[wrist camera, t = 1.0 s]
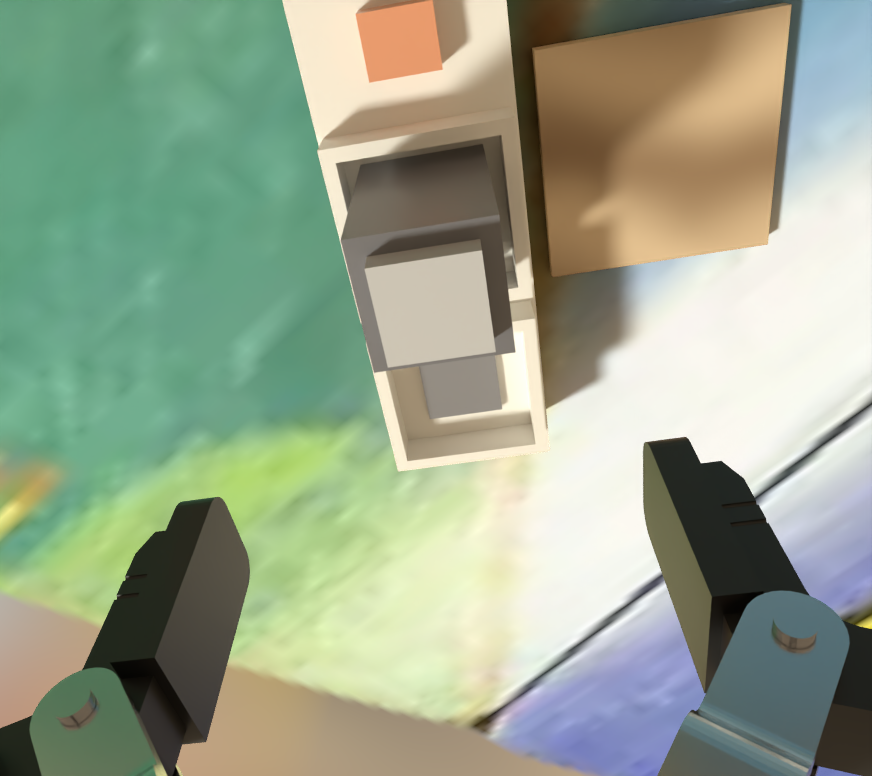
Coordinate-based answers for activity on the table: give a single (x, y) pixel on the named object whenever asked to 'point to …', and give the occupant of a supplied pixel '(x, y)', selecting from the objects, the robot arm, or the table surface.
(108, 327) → the table surface
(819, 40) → the table surface
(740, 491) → the robot arm
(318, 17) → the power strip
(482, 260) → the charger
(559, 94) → the coaster
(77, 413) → the table surface
